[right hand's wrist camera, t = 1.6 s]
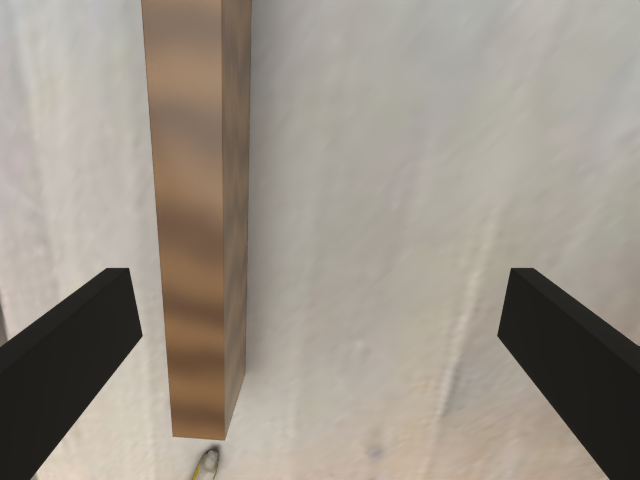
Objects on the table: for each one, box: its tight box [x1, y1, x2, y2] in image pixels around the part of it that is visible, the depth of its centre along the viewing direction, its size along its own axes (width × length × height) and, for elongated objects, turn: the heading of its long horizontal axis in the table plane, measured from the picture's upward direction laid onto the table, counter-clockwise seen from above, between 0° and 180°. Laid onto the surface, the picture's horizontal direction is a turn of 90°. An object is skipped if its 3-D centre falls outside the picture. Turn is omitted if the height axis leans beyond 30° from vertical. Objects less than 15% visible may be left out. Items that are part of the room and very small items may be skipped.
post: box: [141, 0, 251, 440], centre depth 25 cm, size 61×5×8 cm, turn 175°
